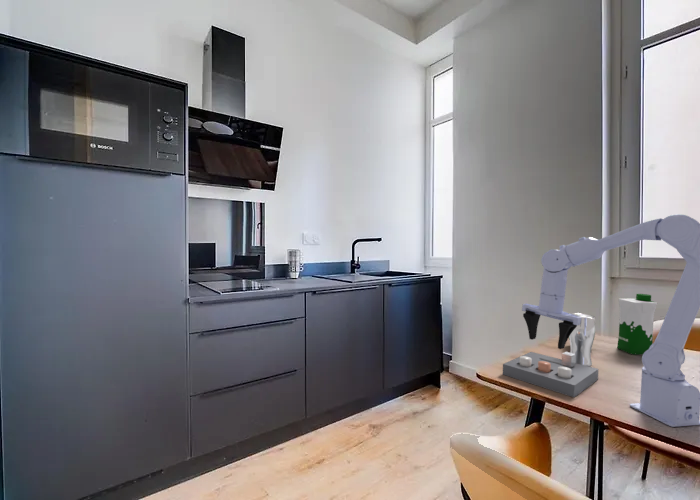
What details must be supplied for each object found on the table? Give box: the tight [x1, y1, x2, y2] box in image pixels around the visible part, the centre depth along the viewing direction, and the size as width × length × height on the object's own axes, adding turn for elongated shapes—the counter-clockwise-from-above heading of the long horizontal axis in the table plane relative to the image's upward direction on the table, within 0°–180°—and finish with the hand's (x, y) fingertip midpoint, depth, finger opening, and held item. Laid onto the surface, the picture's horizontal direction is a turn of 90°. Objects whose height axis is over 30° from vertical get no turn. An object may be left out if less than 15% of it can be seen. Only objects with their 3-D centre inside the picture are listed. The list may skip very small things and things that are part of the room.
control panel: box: [502, 351, 599, 398], centre depth 100 cm, size 18×18×3 cm
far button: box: [519, 355, 532, 367], centre depth 101 cm, size 3×3×3 cm
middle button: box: [538, 361, 551, 373], centre depth 97 cm, size 3×3×3 cm
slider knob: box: [561, 351, 575, 367], centre depth 100 cm, size 2×3×3 cm
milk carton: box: [616, 293, 658, 356], centre depth 124 cm, size 9×9×20 cm
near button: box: [558, 366, 571, 379], centre depth 93 cm, size 3×3×3 cm
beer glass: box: [568, 312, 596, 367], centre depth 111 cm, size 7×7×15 cm
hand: (546, 343), depth 97 cm, fingers open, 7 cm apart
